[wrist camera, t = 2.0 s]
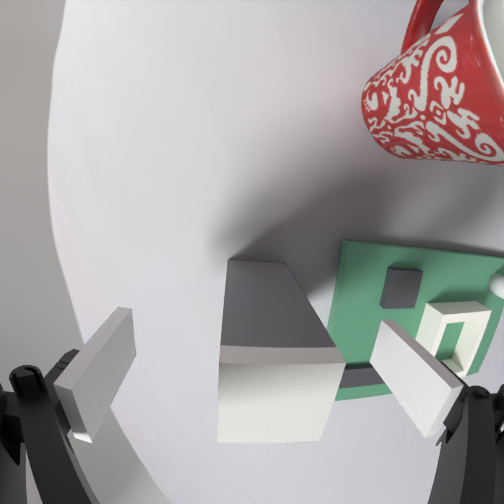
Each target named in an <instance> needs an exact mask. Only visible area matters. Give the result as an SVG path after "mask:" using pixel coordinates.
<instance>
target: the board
mask: <svg viewBox="0 0 504 504" xmlns="http://www.w3.org/2000/svg"><path fill="white" fill-rule="evenodd" d="M503 307H504V257H498V256H491V255H482V254H474V253H466V252H457V251H448V250H440V249H430V248H421V247H412V246H402V245H392V244H382V243H372V242H362V241H351V240H343V241H342V248H341V254H340V261H339V267H338V273H337V279H336V285H335V290H334V296H333V301H332V306H331V311H330V316H329V321H328V326H327V332H328V333H329V335H330V337H331V338H332V340H333V342H334V343H335V345H336V347H337V348H338V350H339V352H340V353H341V355H342V357H343V359H344V360H345V362H346V365H345V368H344V371H343V375H342V378H341V381H340V384H339V387H338V391H337V394H336V397H335V400H334V401H338V400H348V399H356V398H364V397H372V396H378V395H385V394H391V393H392V391H391V390H390V389H389V387H388V386H387V385H386V383H385V382H384V380H383V379H382V378H381V376H380V375H379V374H378V372H377V371H376V370H375V368H374V367H373V366H372V364H371V363H370V359H371V356H372V352H373V349H374V346H375V342H376V339H377V335H378V331H379V328H380V324H381V320H390V319H393V320H394V321H395V322H396V323H397V324H398V325H400V326H401V327H402V328H403V329H404V330H405V331H406V332H407V333H409V334H410V335H411V336H412V337H413V338H414V339H415V340H416V341H417V342H418V343H420V344H421V345H422V346H423V347H424V348H425V349H426V350H427V351H428V352H429V353H431V354H432V355H433V356H434V357H435V358H436V359H438V360H440V361H442V362H443V363H445V364H446V365H447V366H448V367H449V369H451V370H452V371H453V372H454V373H455V374H456V375H457V376H458V377H459V378H461V377H464V376H467V375H471V374H474V373H477V372H478V371H479V369H480V367H481V365H482V362H483V360H484V358H485V355H486V353H487V351H488V348H489V346H490V343H491V341H492V338H493V336H494V333H495V330H496V328H497V325H498V322H499V319H500V316H501V313H502V310H503Z"/></svg>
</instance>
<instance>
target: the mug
mask: <svg viewBox="0 0 504 504" xmlns="http://www.w3.org/2000/svg"><path fill="white" fill-rule="evenodd" d="M443 1H444V0H417V2H416V4H415V7H414V10H413V12H412V15H411V18H410V21H409V24H408V27H407V31H406V34H405V38H404V41H403V45H402V49H401V53H400V55H399V56H398V57H396V58H395V59H394V60H393V61H391V62H390V63H389V64H388V65H386V66H385V67H384V68H383V69H381V70H380V71H379V72H377V73H376V74H375V75H374V76H372V77H371V78H370V79H369V81H368V82H367V83H366V85H365V87H364V90H363V93H362V101H361V107H362V113H363V117H364V120H365V123H366V126H367V128H368V130H369V132H370V133H371V135H372V136H373V138H374V139H375V140H376V142H377V143H378V144H379V145H380V146H381V147H382V148H384V149H385V150H386V151H388V152H389V153H391V154H393V155H395V156H397V157H400V158H406V159H428V160H444V161H461V162H471V163H483V164H490V165H498V166H504V0H469V4H468V5H467V6H465V7H464V8H462V9H461V10H460V11H458V12H457V13H455V14H454V15H452V16H451V17H449V18H448V19H447V20H445V21H444V22H442V23H441V24H440V25H438V26H437V27H436V28H435V29H433V30H432V31H430V29H431V26H432V24H433V21H434V19H435V16H436V14H437V11H438V9H439V8H440V6H441V4H442V2H443ZM429 31H430V32H429Z"/></svg>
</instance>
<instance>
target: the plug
mask: <svg viewBox="0 0 504 504" xmlns="http://www.w3.org/2000/svg"><path fill="white" fill-rule="evenodd" d="M345 365H346V362H345V360H344V359H343V357H342V355H341V353H340V352H339V350H338V348H337V347H336V345H335V343H334V342H333V340H332V338H331V337H330V335H329V333H328V332H327V330H326V328H325V327H324V325H323V324H322V322H321V320H320V319H319V317H318V315H317V314H316V312H315V310H314V309H313V307H312V305H311V304H310V302H309V301H308V299H307V297H306V296H305V294H304V292H303V291H302V289H301V288H300V286H299V284H298V283H297V281H296V279H295V278H294V276H293V275H292V273H291V271H290V270H289V268H288V267H287V265H286V263H274V262H259V261H244V260H229V259H228V264H227V274H226V285H225V296H224V308H223V320H222V332H221V345H220V358H219V382H218V423H217V442H224V443H288V442H303V441H315V440H320V438H321V435H322V433H323V430H324V427H325V425H326V422H327V419H328V417H329V414H330V411H331V408H332V405H333V402H334V400H335V397H336V394H337V391H338V387H339V384H340V381H341V378H342V375H343V371H344V368H345Z"/></svg>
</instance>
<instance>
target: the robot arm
mask: <svg viewBox="0 0 504 504" xmlns="http://www.w3.org/2000/svg"><path fill="white" fill-rule="evenodd" d="M135 356H136V348H135V339H134V329H133V318H132V309H130V308H122V307H118V308H117V309H116V310H115V311H114V312H113V313H112V314H111V315H110V317H109V318H108V319H107V320H106V321H105V322H104V323H103V325H102V326H101V327H100V328H99V329H98V330H97V331H96V333H95V334H94V335H93V336H92V337H91V338H90V340H89V341H88V342H87V343H86V344H85V345H84V347H83V348H82V349H81V350H75V349H73V350H71V351H69V352H67V353H66V354H64V356H62V358H61V359H60V360H59V362H57V363H56V365H55V366H54V367H53V368H52V369H51V370H50V371H49V373H48V374H47V375H46V376H45V377H44V378H43V376H42V373H41V371H40V369H38V368H37V367H36V366H32V365H23V366H20V367H17V368H16V369H14V370H13V371H12V372H11V373H10V376H9V380H10V382H11V384H12V387H13V389H14V392H15V393H14V392H6V391H4V390H3V388H2V386H1V384H0V504H27V495H26V476H25V475H26V472H25V471H26V469H25V467H26V451H27V455H28V459H29V462H30V466H31V469H32V473H33V476H34V480H35V483H36V485H37V489H38V491H39V494H40V497H41V500H42V502H43V504H100V503H99V502H98V500H97V498H96V496H95V494H94V493H93V491H92V489H91V487H90V485H89V484H88V481H87V479H86V477H85V475H84V473H83V471H82V469H81V467H80V464H79V462H78V460H77V458H76V455H75V453H74V451H73V448H72V446H71V443H70V441H69V438H68V436H67V434H68V432H69V430H70V428H71V430H72V432H73V434H74V437H75V438H77V439H80V440H83V441H87V442H90V443H93V441H94V438H95V436H96V434H97V432H98V430H99V428H100V426H101V424H102V421H103V419H104V417H105V415H106V413H107V411H108V409H109V407H110V405H111V403H112V401H113V399H114V397H115V395H116V393H117V391H118V389H119V387H120V385H121V383H122V381H123V379H124V377H125V375H126V373H127V371H128V369H129V368H130V366H131V364H132V362H133V360H134V358H135ZM370 363H371V364H372V366H373V367H374V368H375V370H376V371H377V372H378V374H379V375H380V376H381V378H382V379H383V380H384V382H385V383H386V385H387V386H388V387H389V389H390V390H391V391H392V393H393V394H394V396H395V397H396V398H397V400H398V401H399V402H400V404H401V405H402V407H403V408H404V409H405V411H406V412H407V414H408V415H409V416H410V418H411V419H412V421H413V422H414V423H415V425H416V426H417V428H418V429H419V430H420V432H421V433H422V435H423V436H424V438H425V437H428V436H431V435H433V434H436V433H437V432H438V431H439V429H440V427H441V426H442V424H444V425H445V426H446V427H447V428H446V429H445V431H444V432H443V434H442V435H441V437H440V438H439V440H438V441H437V443H436V446H438V444H439V443H440V442H441V441H442V444H441V450H440V455H439V460H438V465H437V470H436V474H435V478H434V482H433V486H432V490H431V494H430V497H429V501H428V504H504V430H503V432H501V430H500V428H501V427H502V425H503V424H504V384H503V385H501V387H500V389H499V391H498V392H497V393H495V394H490V392H489V391H488V390H487V389H485V388H483V387H481V386H471V387H469V386H468V385H467V384H466V383H465V382H464V381H463V380H462V379H461V378H459V377H458V376H457V375H456V374H455V373H454V372H453V371H452V370H451V369H449V367H448V366H447V365H446V364H445V363H443V362H442V361H440V360H438V359H436V358H435V357H434V356H433V355H432V354H431V353H429V352H428V351H427V350H426V349H425V348H424V347H423V346H422V345H421V344H420V343H418V342H417V341H416V340H415V339H414V338H413V337H412V336H411V335H410V334H409V333H407V332H406V331H405V330H404V329H403V328H402V327H401V326H400V325H398V324H397V323H396V322H395V321H394V320H393V319H390V320H381V324H380V328H379V331H378V335H377V339H376V342H375V346H374V349H373V352H372V356H371V359H370Z"/></svg>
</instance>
